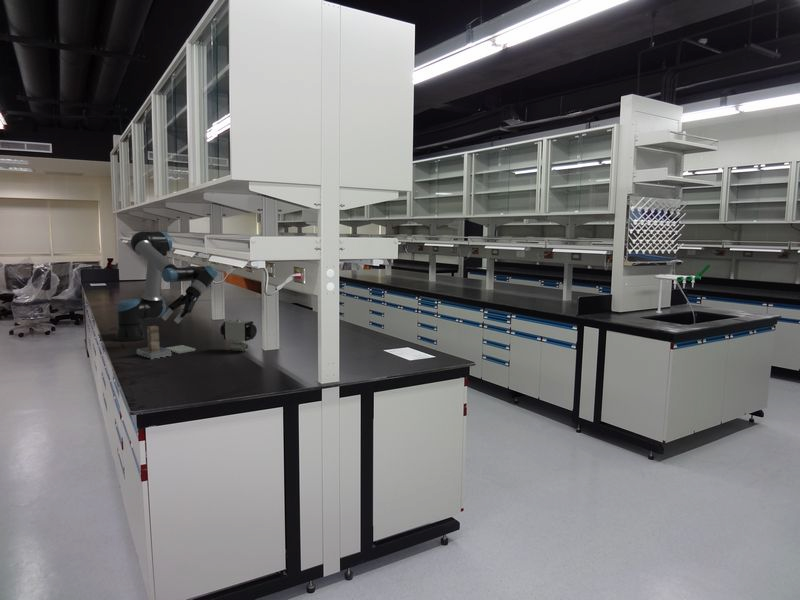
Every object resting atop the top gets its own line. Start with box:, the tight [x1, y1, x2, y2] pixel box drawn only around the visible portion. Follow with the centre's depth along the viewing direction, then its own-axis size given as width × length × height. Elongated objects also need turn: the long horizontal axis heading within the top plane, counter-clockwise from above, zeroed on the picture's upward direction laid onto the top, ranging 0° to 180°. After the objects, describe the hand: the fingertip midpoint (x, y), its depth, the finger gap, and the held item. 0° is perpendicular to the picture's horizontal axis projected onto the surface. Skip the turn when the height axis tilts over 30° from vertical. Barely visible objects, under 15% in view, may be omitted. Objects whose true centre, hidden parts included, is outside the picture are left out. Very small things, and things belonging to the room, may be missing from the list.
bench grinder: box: [219, 317, 258, 352], centre depth 277 cm, size 18×8×18 cm, turn 76°
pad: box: [164, 344, 197, 354], centre depth 277 cm, size 14×10×1 cm
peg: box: [146, 325, 161, 351], centre depth 263 cm, size 4×4×15 cm
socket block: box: [136, 346, 172, 360], centre depth 264 cm, size 16×10×3 cm, turn 50°
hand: (169, 320), depth 268 cm, fingers open, 13 cm apart
